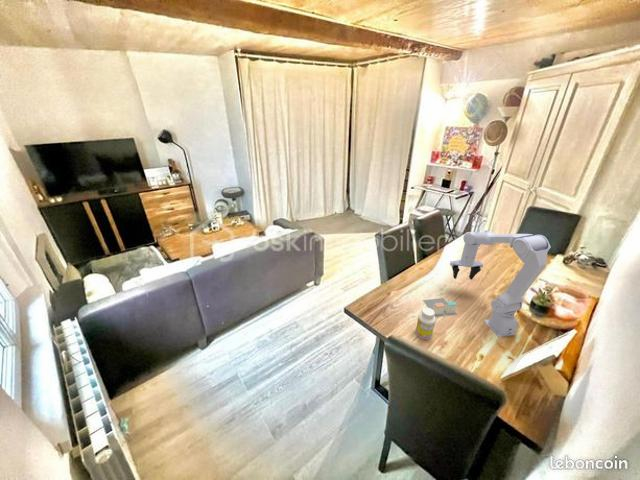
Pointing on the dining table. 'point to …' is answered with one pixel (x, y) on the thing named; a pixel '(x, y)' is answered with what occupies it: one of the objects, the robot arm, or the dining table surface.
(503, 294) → the robot arm
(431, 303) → the mat
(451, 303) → the slab
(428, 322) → the supplement bottle
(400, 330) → the dining table surface
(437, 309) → the slab
